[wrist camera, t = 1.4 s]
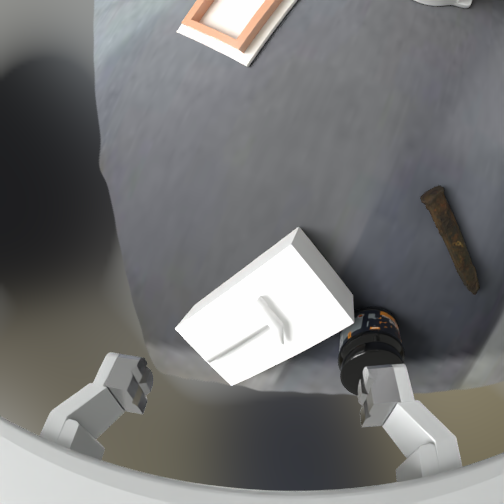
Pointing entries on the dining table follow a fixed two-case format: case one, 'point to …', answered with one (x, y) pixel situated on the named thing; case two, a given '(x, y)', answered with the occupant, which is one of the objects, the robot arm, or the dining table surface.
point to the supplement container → (368, 345)
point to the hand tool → (451, 236)
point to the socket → (235, 25)
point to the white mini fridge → (269, 310)
